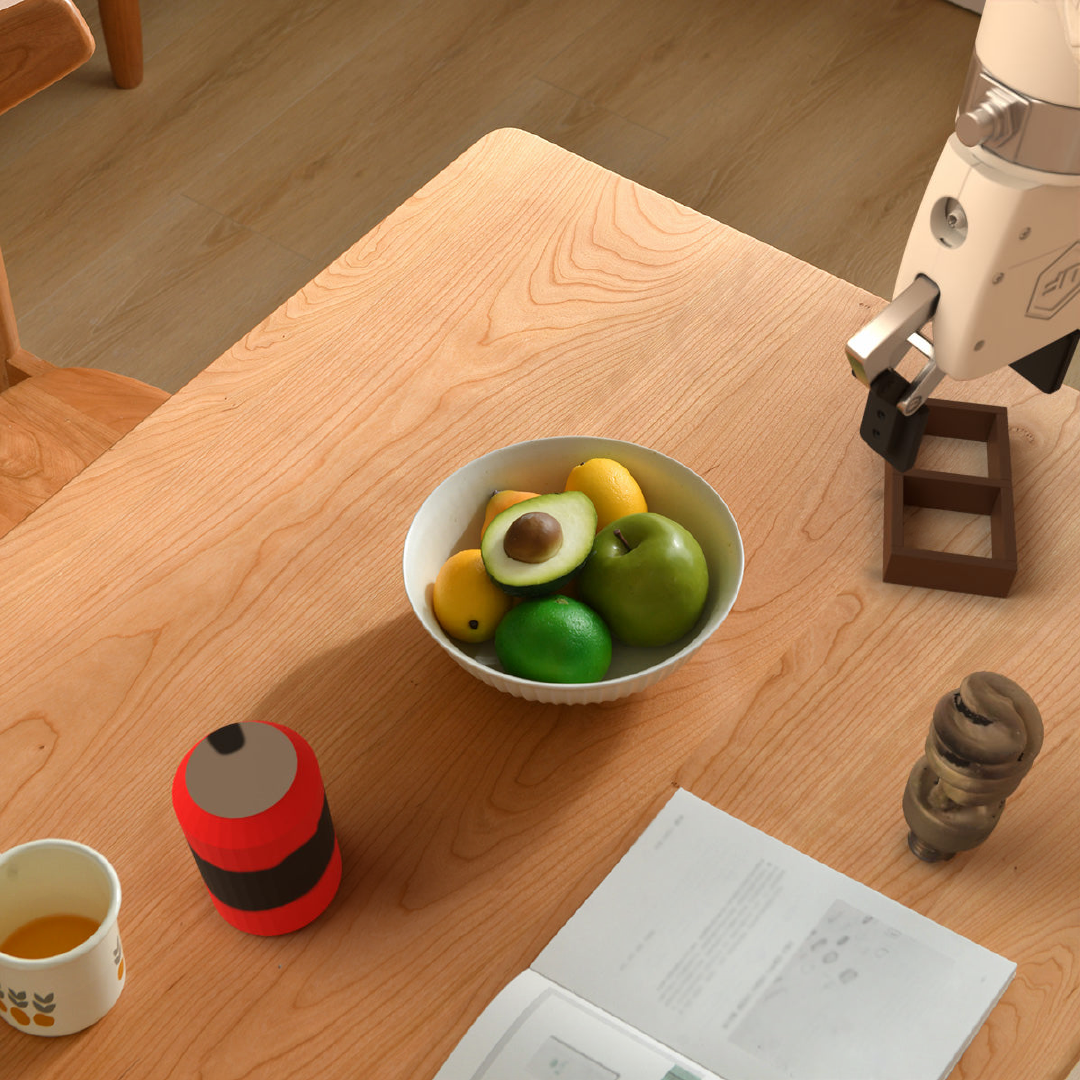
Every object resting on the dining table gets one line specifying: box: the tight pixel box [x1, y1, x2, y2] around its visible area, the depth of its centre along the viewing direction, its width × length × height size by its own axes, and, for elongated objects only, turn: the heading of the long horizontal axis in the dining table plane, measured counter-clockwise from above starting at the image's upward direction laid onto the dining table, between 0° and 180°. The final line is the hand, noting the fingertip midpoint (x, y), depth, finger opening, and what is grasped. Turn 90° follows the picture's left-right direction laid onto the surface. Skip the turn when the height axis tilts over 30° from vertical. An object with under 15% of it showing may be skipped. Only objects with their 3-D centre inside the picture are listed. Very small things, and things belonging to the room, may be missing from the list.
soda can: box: [171, 719, 343, 937], centre depth 73 cm, size 8×8×12 cm
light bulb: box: [901, 670, 1045, 864], centre depth 73 cm, size 6×6×15 cm
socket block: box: [882, 397, 1019, 599], centre depth 95 cm, size 16×8×3 cm, turn 170°
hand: (959, 414), depth 66 cm, fingers open, 9 cm apart
